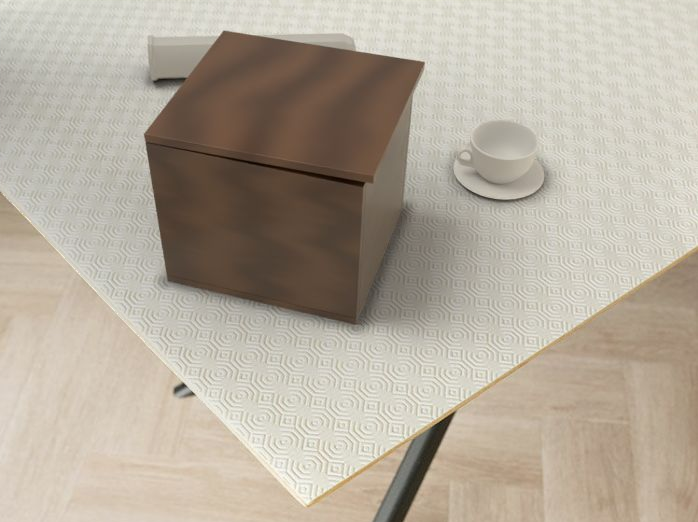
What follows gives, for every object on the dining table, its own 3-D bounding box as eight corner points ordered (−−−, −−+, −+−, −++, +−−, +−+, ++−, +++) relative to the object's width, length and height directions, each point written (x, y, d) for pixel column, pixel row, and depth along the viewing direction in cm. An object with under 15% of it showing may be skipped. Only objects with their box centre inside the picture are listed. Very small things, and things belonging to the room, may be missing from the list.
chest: (402, 208, 96) (415, 73, 84) (355, 325, 84) (363, 187, 72) (234, 173, 99) (224, 38, 87) (167, 281, 87) (144, 142, 75)
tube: (354, 26, 113) (149, 31, 110) (360, 35, 108) (146, 39, 105) (354, 70, 115) (153, 76, 113) (359, 80, 111) (151, 86, 108)
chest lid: (424, 69, 83) (425, 61, 83) (373, 184, 72) (373, 175, 71) (224, 37, 87) (223, 30, 86) (145, 142, 75) (143, 133, 75)
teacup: (529, 145, 104) (537, 109, 101) (554, 200, 97) (563, 164, 94) (444, 150, 103) (448, 114, 99) (463, 206, 96) (469, 169, 93)
